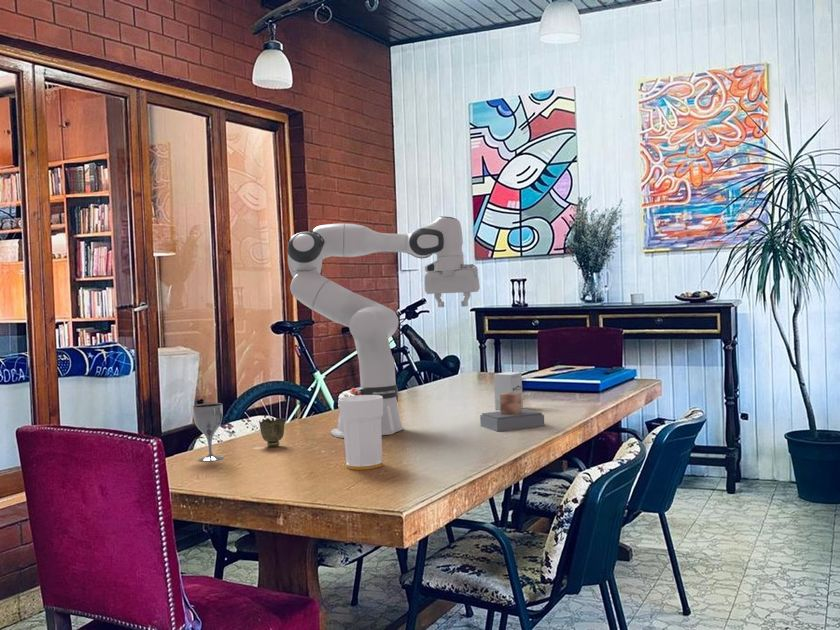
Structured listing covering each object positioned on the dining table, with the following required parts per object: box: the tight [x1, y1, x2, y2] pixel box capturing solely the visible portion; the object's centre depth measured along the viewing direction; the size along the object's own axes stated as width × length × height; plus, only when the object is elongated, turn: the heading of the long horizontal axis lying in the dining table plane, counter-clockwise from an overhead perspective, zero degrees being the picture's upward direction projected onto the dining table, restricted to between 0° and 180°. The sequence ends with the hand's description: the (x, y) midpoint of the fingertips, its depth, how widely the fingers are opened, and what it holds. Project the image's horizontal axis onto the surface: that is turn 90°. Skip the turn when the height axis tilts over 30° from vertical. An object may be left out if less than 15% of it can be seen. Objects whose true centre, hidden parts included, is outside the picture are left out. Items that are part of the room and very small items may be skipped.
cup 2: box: [338, 395, 383, 471], centre depth 218 cm, size 11×11×17 cm
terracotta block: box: [500, 393, 523, 415], centre depth 266 cm, size 5×5×6 cm
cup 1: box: [258, 417, 286, 448], centre depth 252 cm, size 8×7×8 cm
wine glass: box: [192, 402, 225, 463], centre depth 238 cm, size 8×8×15 cm
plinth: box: [479, 408, 546, 432], centre depth 266 cm, size 16×12×4 cm
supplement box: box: [493, 371, 524, 411], centre depth 301 cm, size 7×7×13 cm
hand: (452, 306), depth 287 cm, fingers open, 8 cm apart
